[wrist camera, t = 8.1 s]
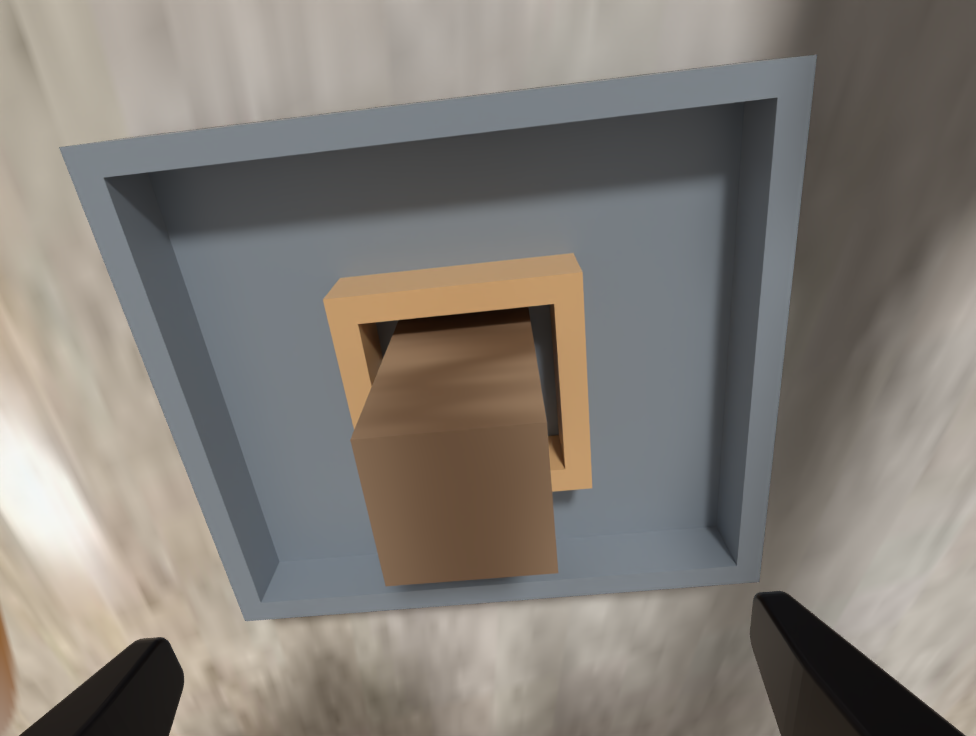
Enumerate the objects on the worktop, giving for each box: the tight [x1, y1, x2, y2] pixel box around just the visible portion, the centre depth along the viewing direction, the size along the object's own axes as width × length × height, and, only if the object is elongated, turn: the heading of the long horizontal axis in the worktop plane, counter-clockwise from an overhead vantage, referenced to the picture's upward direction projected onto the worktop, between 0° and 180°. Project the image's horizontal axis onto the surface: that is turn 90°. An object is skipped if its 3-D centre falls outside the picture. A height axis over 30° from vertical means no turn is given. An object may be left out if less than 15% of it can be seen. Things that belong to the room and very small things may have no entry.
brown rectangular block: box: [350, 307, 558, 586], centre depth 16 cm, size 4×4×7 cm
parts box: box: [59, 55, 817, 621], centre depth 19 cm, size 18×16×3 cm
